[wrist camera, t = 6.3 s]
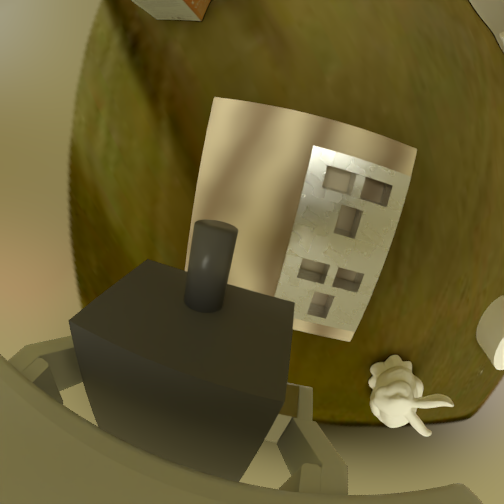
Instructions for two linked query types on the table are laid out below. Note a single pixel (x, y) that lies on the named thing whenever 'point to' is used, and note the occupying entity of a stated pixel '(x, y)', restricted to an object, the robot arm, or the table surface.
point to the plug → (187, 358)
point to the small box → (175, 9)
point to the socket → (340, 240)
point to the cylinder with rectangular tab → (493, 332)
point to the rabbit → (400, 395)
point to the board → (279, 186)
